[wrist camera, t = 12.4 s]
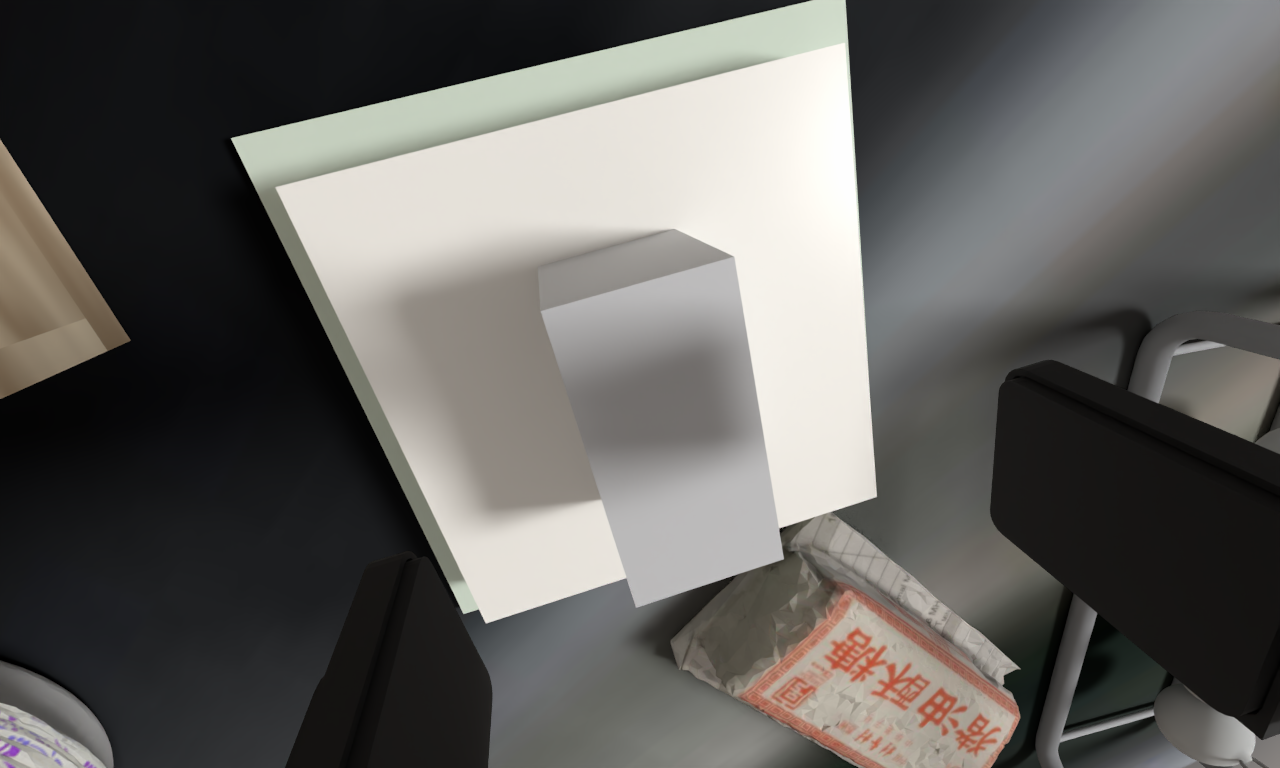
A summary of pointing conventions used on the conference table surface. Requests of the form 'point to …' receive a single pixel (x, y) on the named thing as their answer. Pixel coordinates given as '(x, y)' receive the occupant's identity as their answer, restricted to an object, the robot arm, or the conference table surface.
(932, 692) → the packaged product
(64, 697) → the paper bowls
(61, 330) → the box
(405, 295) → the lid
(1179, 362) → the conference table surface
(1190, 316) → the newton's cradle
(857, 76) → the conference table surface
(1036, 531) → the robot arm
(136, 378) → the conference table surface
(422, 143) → the mat
